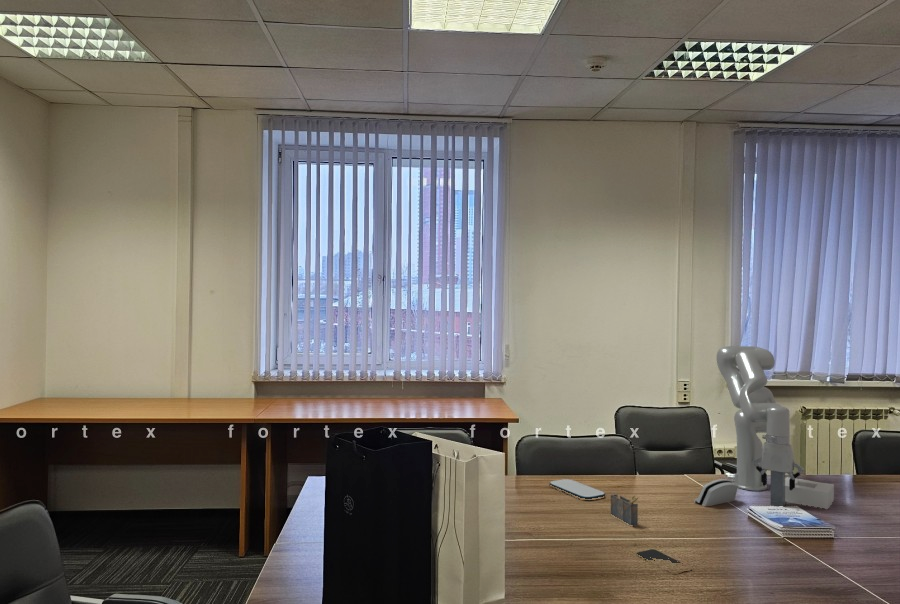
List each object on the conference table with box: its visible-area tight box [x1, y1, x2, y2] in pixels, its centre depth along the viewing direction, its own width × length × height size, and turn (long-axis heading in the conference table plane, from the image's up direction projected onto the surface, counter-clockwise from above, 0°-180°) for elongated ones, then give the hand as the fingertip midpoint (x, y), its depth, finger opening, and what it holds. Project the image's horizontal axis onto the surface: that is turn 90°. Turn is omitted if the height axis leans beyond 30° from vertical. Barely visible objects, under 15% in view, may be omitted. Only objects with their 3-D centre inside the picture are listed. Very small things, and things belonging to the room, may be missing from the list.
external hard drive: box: [549, 478, 606, 499], centre depth 238 cm, size 24×12×2 cm, turn 28°
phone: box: [636, 549, 684, 564], centre depth 172 cm, size 7×1×15 cm
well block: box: [785, 476, 835, 510], centre depth 229 cm, size 16×14×6 cm
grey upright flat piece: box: [610, 493, 639, 526], centre depth 206 cm, size 11×3×10 cm, turn 20°
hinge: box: [693, 478, 739, 507], centre depth 225 cm, size 17×5×10 cm, turn 118°
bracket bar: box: [770, 471, 786, 507], centre depth 224 cm, size 4×4×14 cm
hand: (777, 487), depth 224 cm, fingers open, 8 cm apart
